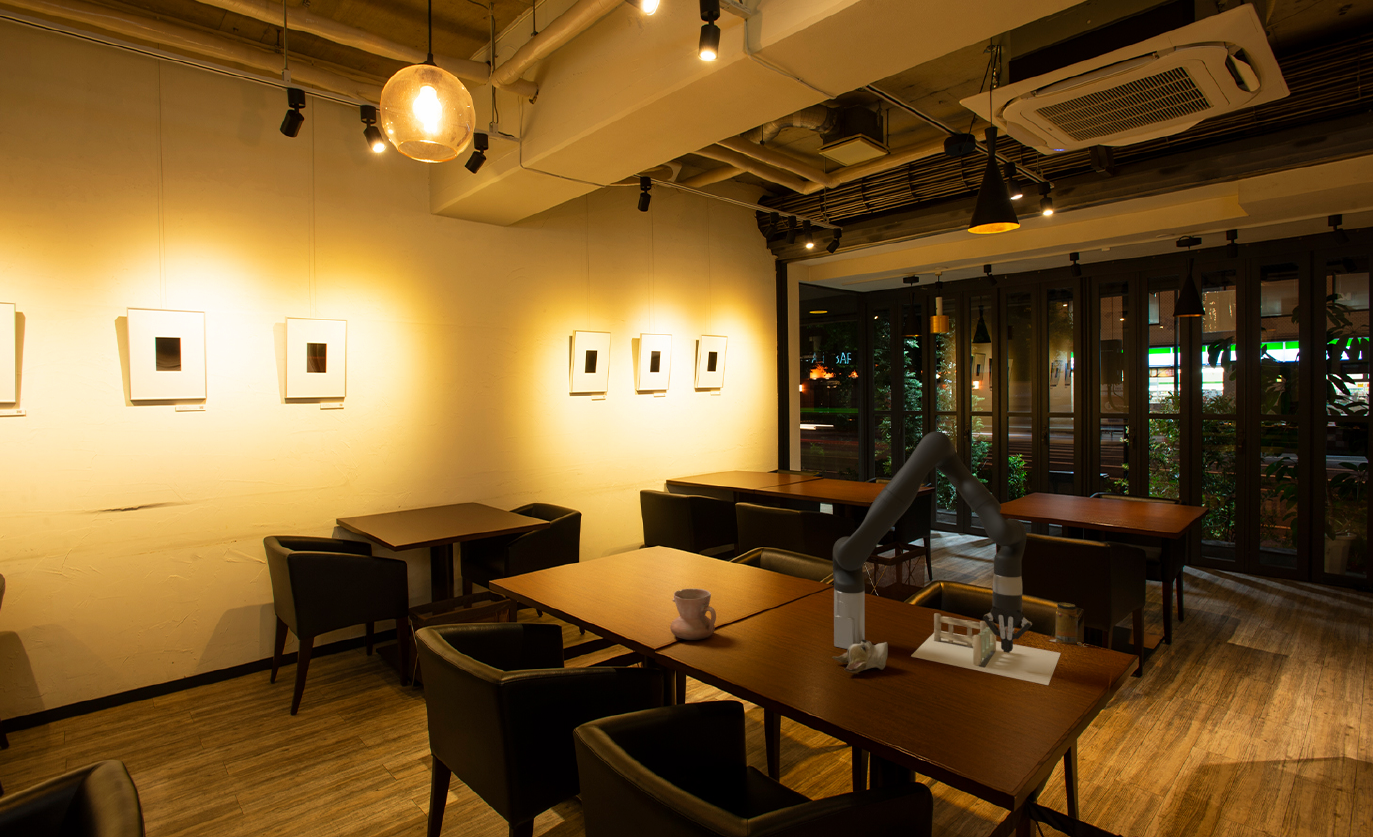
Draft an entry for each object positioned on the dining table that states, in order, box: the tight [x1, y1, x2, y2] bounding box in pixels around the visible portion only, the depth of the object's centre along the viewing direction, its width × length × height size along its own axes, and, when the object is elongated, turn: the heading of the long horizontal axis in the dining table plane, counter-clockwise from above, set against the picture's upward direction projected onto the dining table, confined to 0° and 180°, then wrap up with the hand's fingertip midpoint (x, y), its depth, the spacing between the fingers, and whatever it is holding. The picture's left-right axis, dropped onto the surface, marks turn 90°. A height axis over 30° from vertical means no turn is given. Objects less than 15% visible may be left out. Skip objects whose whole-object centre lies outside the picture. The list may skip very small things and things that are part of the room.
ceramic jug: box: [669, 588, 717, 641], centre depth 214 cm, size 18×14×14 cm
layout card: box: [910, 630, 1061, 686], centre depth 197 cm, size 28×36×1 cm
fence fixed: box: [933, 612, 988, 647], centre depth 205 cm, size 16×2×8 cm, turn 55°
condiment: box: [1048, 602, 1088, 648], centre depth 207 cm, size 7×8×12 cm
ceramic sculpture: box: [831, 638, 889, 674], centre depth 188 cm, size 11×9×15 cm
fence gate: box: [972, 623, 997, 665], centre depth 194 cm, size 16×2×8 cm, turn 139°
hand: (1006, 651), depth 187 cm, fingers closed
